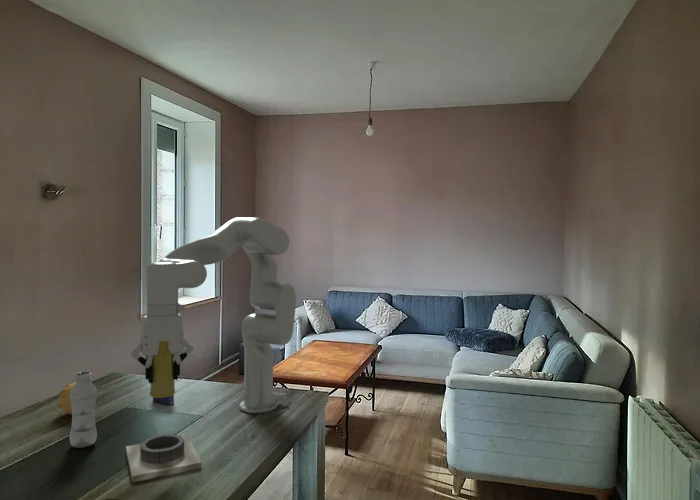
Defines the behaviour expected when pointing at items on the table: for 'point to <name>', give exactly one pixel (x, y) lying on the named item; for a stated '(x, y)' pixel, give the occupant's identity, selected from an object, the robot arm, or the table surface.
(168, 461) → the plate
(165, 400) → the flask
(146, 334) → the robot arm
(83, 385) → the plastic bottle
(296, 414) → the table surface
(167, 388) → the vase
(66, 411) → the stress ball
